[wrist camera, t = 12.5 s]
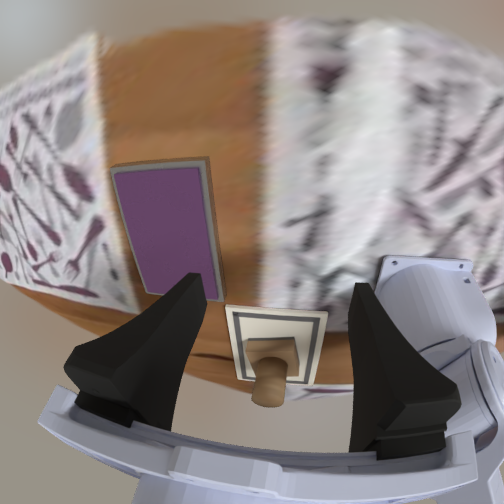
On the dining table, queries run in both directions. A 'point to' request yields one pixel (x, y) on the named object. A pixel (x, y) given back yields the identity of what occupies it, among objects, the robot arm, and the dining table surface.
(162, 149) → the dining table surface
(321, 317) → the marked card
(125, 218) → the ink pad
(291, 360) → the stamp
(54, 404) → the robot arm
